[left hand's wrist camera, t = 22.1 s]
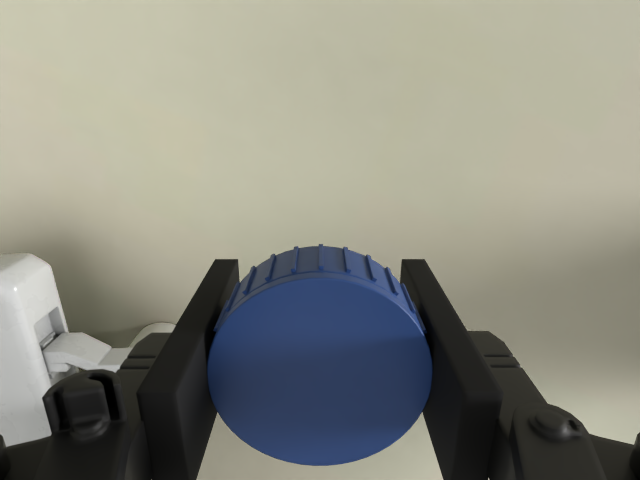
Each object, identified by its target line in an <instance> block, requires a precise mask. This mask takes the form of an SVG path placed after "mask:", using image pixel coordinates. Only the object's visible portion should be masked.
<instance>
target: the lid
mask: <svg viewBox="0 0 640 480" xmlns="http://www.w3.org/2000/svg"><path fill="white" fill-rule="evenodd" d="M213 331H215V332H216V334H215V337H214V339H213V342H212V345H211V347H210V350H209V355H208V360H207V376H208V385H209V392H210V395H211V399H212V401H213V403H214V406H215V408H216V410H217V412H218V413H219V415H220V416H221V418H222V420H223V421H224V422H225V423H226V425H227V426H228V427H229V428H230V429H231V431H233V432H234V433H235V434H236V435H237V436H238V437H239V438H240V439H241V440H243V441H244V442H246V443H247V444H248V445H250V446H251V447H253V448H255V449H256V450H258V451H260V452H262V453H264V454H266V455H269V456H271V457H274V458H276V459H280V460H283V461H286V462H291V463H296V464H301V465H312V466H328V465H337V464H344V463H349V462H353V461H357V460H360V459H363V458H366V457H369V456H371V455H373V454H375V453H378V452H380V451H381V450H383V449H385V448H387V447H388V446H390V445H391V444H393V443H394V442H395V441H397V440H398V439H399V438H401V437H402V436H403V435H404V434H405V433H406V432H407V431H408V430H409V429H410V428H411V427H412V425H413V424H414V423H415V422H416V420H417V419H418V418H419V416H420V414H421V413H422V411H423V409H424V407H425V405H426V402H427V400H428V398H429V394H430V390H431V382H432V373H433V364H432V357H431V352H430V348H429V345H428V343H427V340H426V338H425V335H424V334H425V333H427V331H426V329H425V326H424V324H423V322H422V319H421V317H420V315H419V313H418V310H417V308H416V306H415V303H414V301H413V302H412V301H411V299H410V296H409V294H408V292H407V289H406V287H405V285H404V284H403V283H402V284H400V283H399V282H398V281H397V279H396V278H395V277H394V276H393V275H392V274H391V271H390V269H389V268H388V267H386V268H384V267H383V266H381V265H380V264H378V263H377V262H375V261H374V260H372V259H371V257H370V256H369V255H366V256H364V255H361V254H359V253H356V252H353V251H350V250H348V248H347V247H343V249H342V248H336V247H327V246H323V244H319V246H312V247H304V248H298V246H297V247H294V250H290V251H286V252H283V253H281V254H278V255H275V254H273V255H271V257H270V259H268V260H266V261H264V262H263V263H261V264H260V265H258V266H257V267H255V266H253V267H252V268H251V270H250V273H249V274H248V275H247V276H246V277H245V278H244V279H243V280H242V281H241V283H240V282H237V283H236V285H235V287H234V289H233V292H232V294H231V297H230V299H229V300H226V302H225V305H224V307H223V309H222V312H221V314H220V316H219V319H218V321H217V323H216V325H215V328H214V330H213Z"/></svg>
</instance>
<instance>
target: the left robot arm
mask: <svg viewBox="0 0 640 480" xmlns="http://www.w3.org/2000/svg"><path fill="white" fill-rule="evenodd" d="M237 282H239V268H238V259H215V261H214V262H213V264H212V266H211V267H210V269H209V271H208V272H207V274H206V276H205V277H204V279H203V281H202V283H201V284H200V286H199V288H198V289H197V291H196V293H195V294H194V296H193V298H192V299H191V301H190V303H189V304H188V306H187V308H186V309H185V311H184V313H183V314H182V316H181V318H180V319H179V321H178V323H177V325H176V326H175V328H174V330H173V331H172V333H150V334H149V335H147V336H146V337H145V338H143V339H142V340H140V341H139V342H137V343H136V344H135V346H134V347H133V349H132V350H131V352H130V353H129V354H128V356H127V359H125V360H124V361H123V363H122V364H121V366H120V369H118V370H117V371H116V373H115V372H113V371H109V370H105V369H92V370H86V371H82V372H78V373H75V374H72V375H70V376H68V377H66V378H64V379H62V380H60V381H59V382H57V383H56V384H54V385H53V386H52V387H50V388H49V389H48V390H47V392H46V393H45V394H44V396H43V397H42V400H43V404H44V408H45V411H46V415H47V418H48V422H49V426H50V429H51V433H52V434H51V436H48V437H44V438H41V439H37V440H33V441H29V442H24V443H20V444H16V445H11V446H7V447H6V445H5V442H4V439H3V436H2V435H1V434H0V480H151V478H152V480H196V479H197V475H198V472H199V469H200V466H201V463H202V459H203V456H204V453H205V450H206V446H207V443H208V440H209V437H210V434H211V430H212V427H213V424H214V421H215V418H216V414H217V410H216V408H215V406H214V403H213V401H212V399H211V395H210V392H209V385H208V376H207V360H208V355H209V350H210V347H211V345H212V342H213V339H214V337H215V334H216V332H215V331H213V330H214V328H215V325H216V323H217V321H218V319H219V316H220V314H221V312H222V309H223V307H224V305H225V302H226V300H229V299H230V297H231V294H232V292H233V289H234V287H235V285H236V283H237ZM402 283H403V284H404V285H405V287H406V289H407V292H408V294H409V296H410V299H411V301H412V302H413V301H414V303H415V306H416V308H417V310H418V313H419V315H420V317H421V319H422V322H423V324H424V326H425V329H426V331H427V333H425V334H424V335H425V338H426V340H427V343H428V345H429V348H430V352H431V357H432V364H433V373H432V382H431V390H430V394H429V398H428V400H427V402H426V405H425V407H424V409H423V411H422V412H423V415H424V419H425V422H426V425H427V428H428V431H429V435H430V438H431V441H432V444H433V447H434V451H435V454H436V457H437V460H438V463H439V467H440V470H441V473H442V476H443V479H444V480H488V477H489V479H490V480H640V433H639V434H638V435H637V438H636V441H635V444H634V445H632V444H628V443H623V442H619V441H615V440H610V439H606V438H602V437H598V436H595V435H591V434H589V433H588V431H587V430H586V428H585V427H584V425H583V424H582V423H581V422H580V421H579V420H578V419H577V418H575V417H574V416H573V415H572V414H571V413H569V412H567V411H565V410H563V409H561V408H559V407H557V406H554V405H550V404H547V402H546V401H545V399H544V398H543V397H542V395H541V394H540V392H539V391H538V390H537V388H536V387H535V385H534V384H533V382H532V381H531V380H530V378H529V377H528V375H527V374H526V373H525V371H524V370H523V368H520V364H519V363H518V361H517V360H516V359H515V357H513V354H512V353H511V352H510V350H509V349H508V347H507V346H506V345H505V343H504V342H503V341H502V340H500V339H499V338H497V337H496V336H494V335H493V334H492V333H490V332H489V331H467V330H466V328H465V327H464V325H463V323H462V322H461V320H460V318H459V317H458V315H457V313H456V312H455V310H454V308H453V307H452V305H451V303H450V301H449V300H448V298H447V296H446V295H445V293H444V291H443V290H442V288H441V286H440V285H439V283H438V281H437V280H436V278H435V276H434V275H433V273H432V271H431V270H430V268H429V266H428V265H427V263H426V261H425V259H402V264H401V278H400V284H402Z"/></svg>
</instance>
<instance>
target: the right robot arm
mask: <svg viewBox="0 0 640 480" xmlns="http://www.w3.org/2000/svg"><path fill="white" fill-rule="evenodd" d="M132 349H133V348H111V346H110V345H107V344H105V343H103V342H101V341H99V340H97V339H95V338H93V337H91V336H89V335H87V334H85V333H83V332H74V333H69V331H68V327H67V324H66V320H65V316H64V312H63V309H62V305H61V301H60V298H59V294H58V290H57V286H56V283H55V279H54V275H53V271H52V268H51V266H50V265H49V264H48V263H47V262H45V261H44V260H42V259H40V258H38V257H37V256H35V255H33V254H31V253H10V254H0V434H1V435H2V436H3V439H4V442H5V445H6V447H7V446H11V445H16V444H20V443H24V442H29V441H33V440H37V439H41V438H44V437H48V436H51V434H52V433H51V429H50V426H49V422H48V418H47V415H46V411H45V408H44V404H43V400H42V397H43V396H44V394H45V393H46V392H47V390H48V389H49V388H50V387H52V386H53V385H54V384H56V383H57V382H59V381H60V380H62V379H64V378H66V377H68V376H70V375H72V374H75V373H78V372H79V368H82V369H85V370H92V369H105V370H109V371H113V372H115V373H116V371H117V370H118V369H120V366H121V364H122V363H123V361H124V360H125V359H127V356H128V354H129V353H130V352H131V350H132ZM78 367H79V368H78Z"/></svg>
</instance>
